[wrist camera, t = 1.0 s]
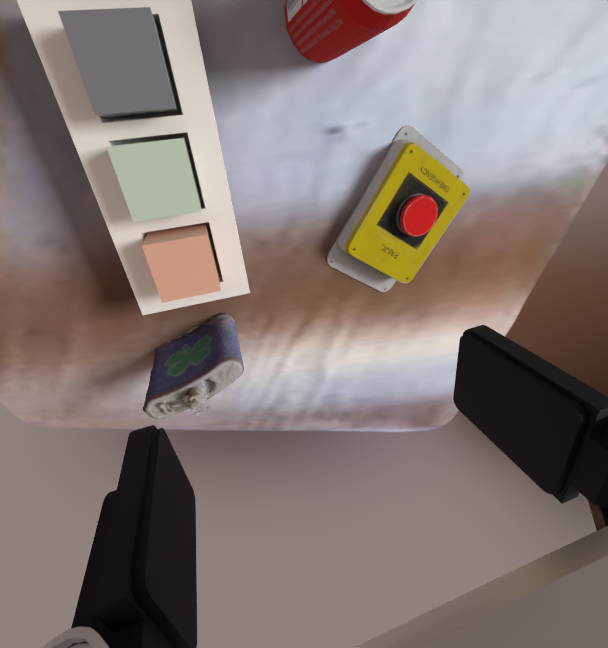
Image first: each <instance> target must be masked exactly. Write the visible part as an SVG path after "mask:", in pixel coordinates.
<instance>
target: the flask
mask: <svg viewBox="0 0 608 648" xmlns="http://www.w3.org/2000/svg"><path fill="white" fill-rule="evenodd" d="M154 355H155V358H154V364H153V368H152V370H151V376H150V382H149V387H148V391H147V394H146V400H145V404H144V407H143V411H144V412H145V413H147V414H148V415H149V416H150V417H153V418H156V419H160V418H165V417H168V416H171V415H173V414H175V413H179V412H182V411H184V410H187V409H190V408H192V410H191V411H194V410H198V409H199V408H203V406H204V405H205V403H204V402H205V401H206V400H207V399H209V398H210V397H212V396H214V395H215V394H216V393H218V392H220V391H221V390H222V389H224V388H225V387H226V386H228V385H229V384H231V383H232V382H234V381H235V380H236V379H237V378H238V377H239V376H240V375H241V374H242V373H243V370H244V367H243V361H242V357H241V352H240V347H239V342H238V337H237V332H236V326H235V321H234V319H233V317H232V316H230V315H229V314H228V313H222V314H218V315H216V316H212V317H210V320H208V321H207V322H205V323H203V324H201V325H197V326H195V327H193V328H192V329H189V331H188V332H187V333H186V335H183V336H181V335H179V337H178V338H177V339H175V340H172V341H170V340H169V342H167V343H164V344H162V345H160V346H158V348H157V349H156V353H155V354H154ZM209 408H210V406H208V407H207V409H209ZM205 412H206V410H200V411H199V412H195V415H196V416H198V415H202V414H204V413H205Z"/></svg>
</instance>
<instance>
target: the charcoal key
mask: <svg viewBox="0 0 608 648" xmlns="http://www.w3.org/2000/svg"><path fill="white" fill-rule="evenodd" d="M58 13H59V16H60V18H61V21H62V24H63V27H64V30H65V32H66V35H67V38H68V41H69V44H70V46H71V49H72V52H73V55H74V58H75V60H76V63H77V66H78V69H79V72H80V74H81V77H82V80H83V83H84V86H85V88H86V91H87V94H88V97H89V100H90V102H91V105H92V108H93V111H94V114H95V115H98V116H103V117H107V118H117V117H127V116H137V115H147V114H157V113H167V112H177V111H178V109H177V105H176V101H175V97H174V93H173V89H172V85H171V81H170V77H169V73H168V69H167V65H166V61H165V57H164V53H163V49H162V45H161V41H160V37H159V33H158V29H157V26H156V23H155V20H154V17H153V14H152V11H151V8H150V7H140V8H116V9H93V10H69V11H58Z"/></svg>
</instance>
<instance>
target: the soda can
mask: <svg viewBox="0 0 608 648" xmlns="http://www.w3.org/2000/svg"><path fill="white" fill-rule="evenodd" d="M417 1H418V0H286V4H285V17H286V26H287V31H288V33H289V35H290V37H291V40H292V42H293V44H294V46H295V47H296V48H297V50H298V51H299V52H300V53H301V54H302V55H303V56H304V57H306V58H307V59H308V60H311V61H314V62H318V63H324V62H328V61H331V60H333V59H335V58H337V57H339V56H341V55H343V54H344V53H346V52H348V51H350V50H351V49H353V48H355V47H357V46H359V45H360V44H362V43H364V42H366V41H368V40H369V39H371V38H373V37H375V36H377V35H378V34H380V33H382V32H384V31H385V30H387V29H389V28H391V27H393V26H394V25H396V24H397V23H399V22H400V21H401V20H402V19H403V18H405V17H406V16H407V14H408V13H409V11H410V10H411V9H412V7H413V6H414V4H415V3H416V2H417Z"/></svg>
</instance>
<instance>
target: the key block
mask: <svg viewBox="0 0 608 648" xmlns="http://www.w3.org/2000/svg"><path fill="white" fill-rule="evenodd" d="M17 2H18V4H19V7H20V9H21V12H22V14H23V17H24V19H25V22H26V24H27V27H28V29H29V32H30V34H31V37H32V39H33V42H34V44H35V47H36V49H37V52H38V54H39V57H40V59H41V62H42V64H43V67H44V69H45V72H46V74H47V77H48V79H49V82H50V84H51V87H52V89H53V92H54V95H55V97H56V100H57V102H58V105H59V107H60V110H61V112H62V115H63V117H64V120H65V122H66V125H67V127H68V130H69V132H70V135H71V137H72V140H73V142H74V145H75V147H76V150H77V152H78V155H79V157H80V160H81V162H82V165H83V167H84V170H85V172H86V175H87V177H88V180H89V182H90V185H91V187H92V190H93V192H94V195H95V197H96V200H97V202H98V205H99V207H100V210H101V212H102V215H103V217H104V220H105V222H106V225H107V227H108V230H109V232H110V235H111V237H112V240H113V242H114V245H115V247H116V250H117V252H118V255H119V257H120V260H121V262H122V265H123V267H124V270H125V272H126V275H127V277H128V280H129V282H130V285H131V287H132V290H133V292H134V295H135V297H136V300H137V302H138V305H139V307H140V310H141V312H142V315H146V314H151V313H156V312H161V311H166V310H171V309H175V308H180V307H185V306H190V305H195V304H199V303H204V302H209V301H214V300H219V299H223V298H228V297H233V296H238V295H243V294H248V293H250V290H249V285H248V280H247V275H246V270H245V266H244V261H243V256H242V251H241V246H240V241H239V236H238V231H237V226H236V221H235V216H234V211H233V206H232V201H231V196H230V191H229V186H228V181H227V176H226V171H225V166H224V161H223V156H222V151H221V146H220V141H219V136H218V131H217V126H216V121H215V116H214V111H213V106H212V101H211V97H210V92H209V87H208V82H207V77H206V72H205V67H204V62H203V57H202V52H201V47H200V42H199V37H198V32H197V27H196V22H195V17H194V12H193V7H192V2H191V0H17ZM140 7H150V8H151V11H152V14H153V17H154V20H155V23H156V26H157V29H158V33H159V37H160V41H161V45H162V49H163V53H164V57H165V61H166V65H167V69H168V73H169V77H170V81H171V85H172V89H173V93H174V97H175V101H176V105H177V109H178V111H177V112H167V113H157V114H147V115H137V116H127V117H117V118H107V117H103V116H98V115H95V114H94V111H93V108H92V105H91V102H90V100H89V97H88V94H87V91H86V88H85V86H84V83H83V80H82V77H81V74H80V72H79V69H78V66H77V63H76V60H75V58H74V55H73V52H72V49H71V46H70V44H69V41H68V38H67V35H66V32H65V30H64V27H63V24H62V21H61V18H60V16H59V13H58V11H69V10H93V9H116V8H140ZM178 138H185V142H186V146H187V150H188V154H189V158H190V162H191V166H192V170H193V174H194V178H195V182H196V186H197V190H198V194H199V198H200V203H201V211H200V212H194V213H187V214H181V215H175V216H168V217H162V218H156V219H149V220H143V221H136V222H133V220H132V217H131V214H130V211H129V209H128V206H127V203H126V200H125V197H124V195H123V192H122V189H121V186H120V183H119V181H118V178H117V175H116V172H115V169H114V167H113V164H112V161H111V158H110V155H109V153H108V150H107V147H108V146H117V145H125V144H134V143H143V142H152V141H160V140H169V139H178ZM200 223H206V227H207V231H208V235H209V239H210V243H211V247H212V251H213V255H214V259H215V263H216V267H217V271H218V276H219V282H220V288H221V291H218V292H213V293H208V294H203V295H198V296H193V297H188V298H183V299H178V300H173V301H168V302H164V303H162V301H161V298H160V295H159V293H158V290H157V287H156V284H155V281H154V279H153V276H152V273H151V270H150V267H149V265H148V262H147V259H146V256H145V253H144V251H143V248H142V244H143V242H144V240H145V238H146V236H147V234H148V232H151V231H157V230H163V229H169V228H175V227H182V226H188V225H194V224H200Z"/></svg>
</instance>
